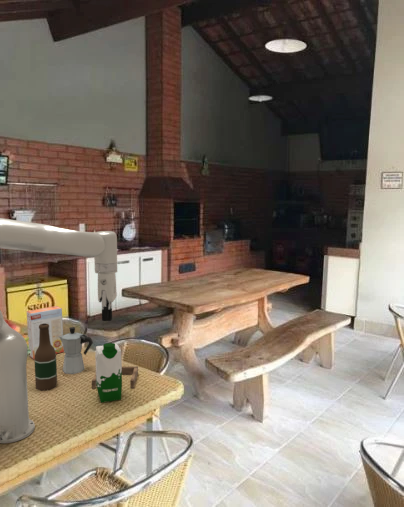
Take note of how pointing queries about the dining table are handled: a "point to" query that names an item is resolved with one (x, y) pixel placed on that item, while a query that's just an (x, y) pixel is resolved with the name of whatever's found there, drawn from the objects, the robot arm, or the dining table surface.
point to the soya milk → (108, 372)
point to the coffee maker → (74, 351)
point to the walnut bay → (125, 371)
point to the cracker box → (55, 327)
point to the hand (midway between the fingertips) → (107, 320)
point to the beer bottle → (45, 361)
